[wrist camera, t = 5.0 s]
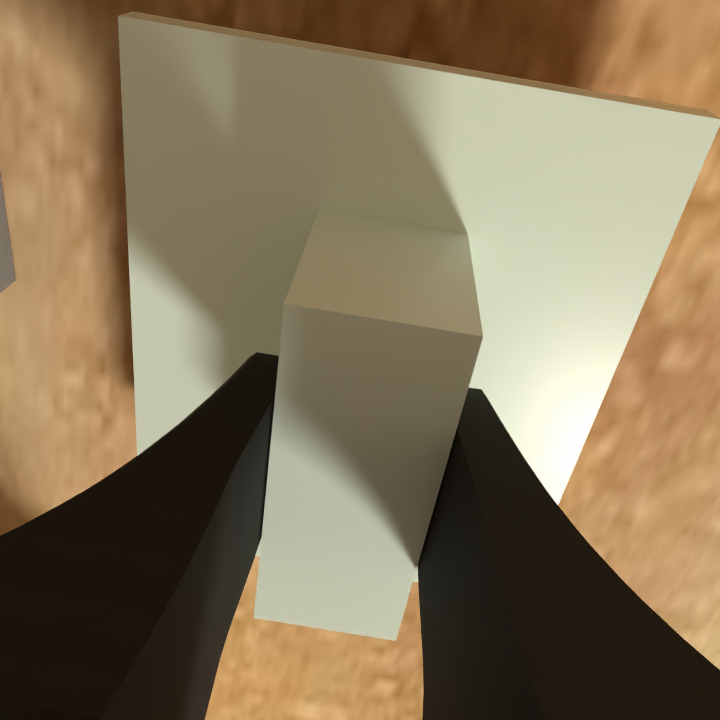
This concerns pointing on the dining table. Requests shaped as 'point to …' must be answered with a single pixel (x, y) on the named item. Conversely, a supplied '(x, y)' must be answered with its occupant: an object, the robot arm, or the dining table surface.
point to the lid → (382, 275)
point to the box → (5, 248)
